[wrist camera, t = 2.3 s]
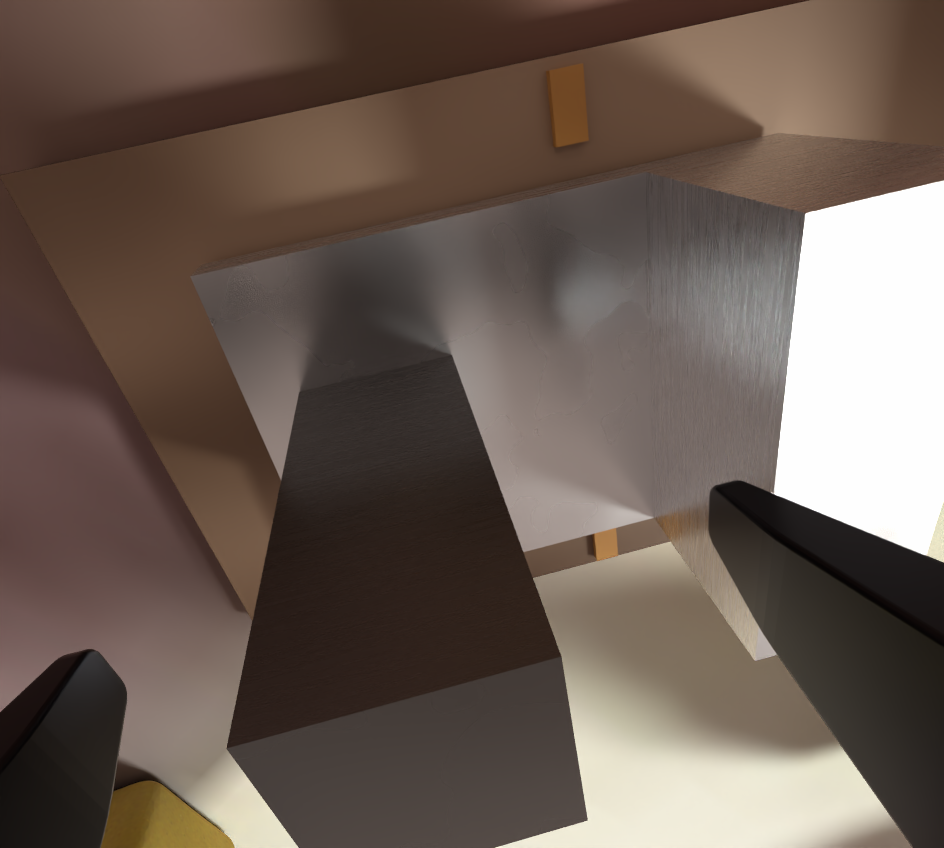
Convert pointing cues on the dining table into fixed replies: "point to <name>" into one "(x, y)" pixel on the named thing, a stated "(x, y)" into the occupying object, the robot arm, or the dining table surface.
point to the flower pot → (157, 821)
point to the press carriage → (554, 449)
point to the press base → (431, 203)
